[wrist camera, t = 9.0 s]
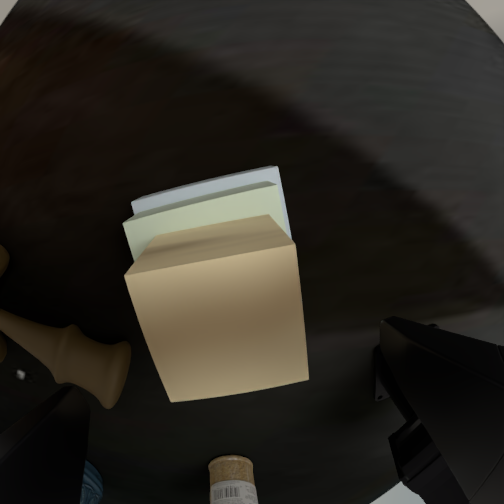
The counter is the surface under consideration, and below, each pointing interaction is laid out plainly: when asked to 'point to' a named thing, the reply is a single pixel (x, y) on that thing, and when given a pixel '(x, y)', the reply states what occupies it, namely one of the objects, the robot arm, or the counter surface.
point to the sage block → (204, 213)
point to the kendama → (69, 352)
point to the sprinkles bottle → (232, 481)
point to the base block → (214, 189)
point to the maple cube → (221, 308)
